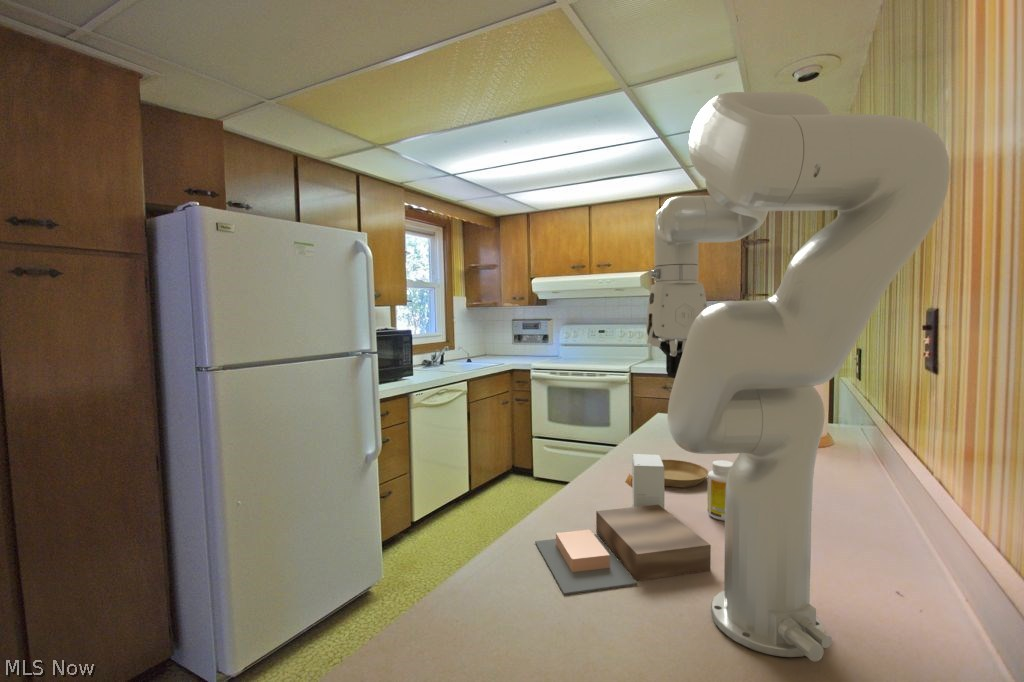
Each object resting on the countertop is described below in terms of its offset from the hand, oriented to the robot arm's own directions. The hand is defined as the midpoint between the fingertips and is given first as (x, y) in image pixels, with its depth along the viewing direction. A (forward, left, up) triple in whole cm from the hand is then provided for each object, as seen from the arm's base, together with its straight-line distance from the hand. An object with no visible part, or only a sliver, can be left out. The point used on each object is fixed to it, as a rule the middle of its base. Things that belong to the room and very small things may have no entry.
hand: (675, 377), depth 91 cm
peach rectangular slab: (-9, +22, -25) cm, 34 cm away
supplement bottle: (0, -10, -27) cm, 29 cm away
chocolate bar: (+16, -1, -28) cm, 32 cm away
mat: (-10, +22, -27) cm, 36 cm away
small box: (+5, +3, -27) cm, 28 cm away
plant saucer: (+21, -12, -28) cm, 37 cm away
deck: (-9, +10, -27) cm, 30 cm away
